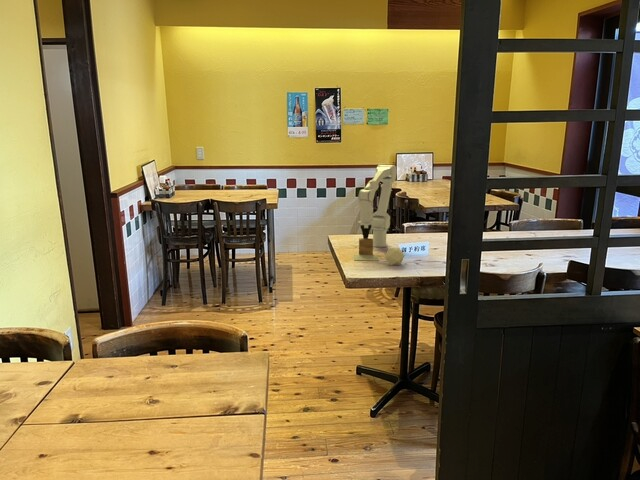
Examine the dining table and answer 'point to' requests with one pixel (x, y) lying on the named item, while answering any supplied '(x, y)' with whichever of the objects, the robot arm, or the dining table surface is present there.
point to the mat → (366, 258)
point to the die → (394, 256)
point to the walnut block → (365, 246)
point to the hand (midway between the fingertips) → (365, 239)
